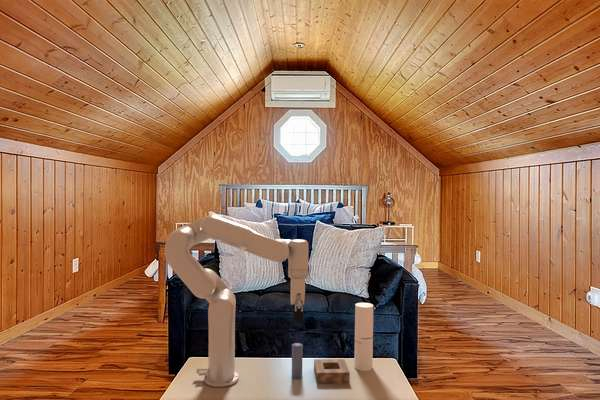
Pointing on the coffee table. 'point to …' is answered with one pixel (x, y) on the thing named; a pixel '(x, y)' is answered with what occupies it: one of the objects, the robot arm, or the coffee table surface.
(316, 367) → the socket block
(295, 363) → the peg
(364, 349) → the cylindrical container
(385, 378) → the coffee table surface
